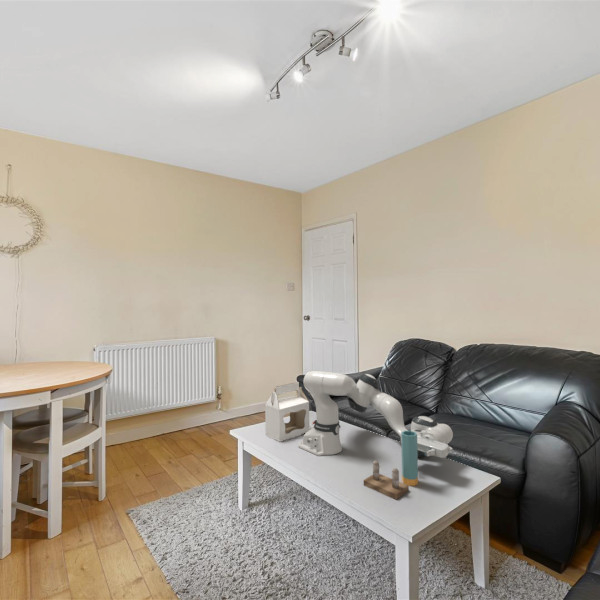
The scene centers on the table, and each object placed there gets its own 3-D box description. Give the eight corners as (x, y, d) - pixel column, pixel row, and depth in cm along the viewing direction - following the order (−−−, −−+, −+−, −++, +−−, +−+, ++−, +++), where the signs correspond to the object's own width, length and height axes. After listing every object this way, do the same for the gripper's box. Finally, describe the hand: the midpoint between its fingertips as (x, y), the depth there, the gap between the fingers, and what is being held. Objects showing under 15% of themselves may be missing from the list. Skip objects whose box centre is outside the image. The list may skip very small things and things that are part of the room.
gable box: (295, 425, 213) (294, 379, 213) (310, 431, 203) (309, 383, 203) (265, 435, 198) (264, 385, 198) (279, 442, 188) (278, 389, 188)
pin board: (363, 485, 143) (363, 462, 143) (376, 477, 150) (376, 455, 150) (396, 499, 132) (395, 475, 132) (408, 490, 139) (408, 467, 139)
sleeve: (399, 481, 145) (399, 433, 145) (407, 477, 149) (406, 429, 149) (412, 487, 141) (412, 437, 141) (420, 481, 145) (419, 433, 145)
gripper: (454, 455, 150) (439, 466, 140) (410, 442, 164) (394, 451, 155) (454, 440, 150) (439, 450, 140) (410, 428, 164) (394, 436, 155)
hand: (415, 450), depth 148 cm, fingers open, 8 cm apart
